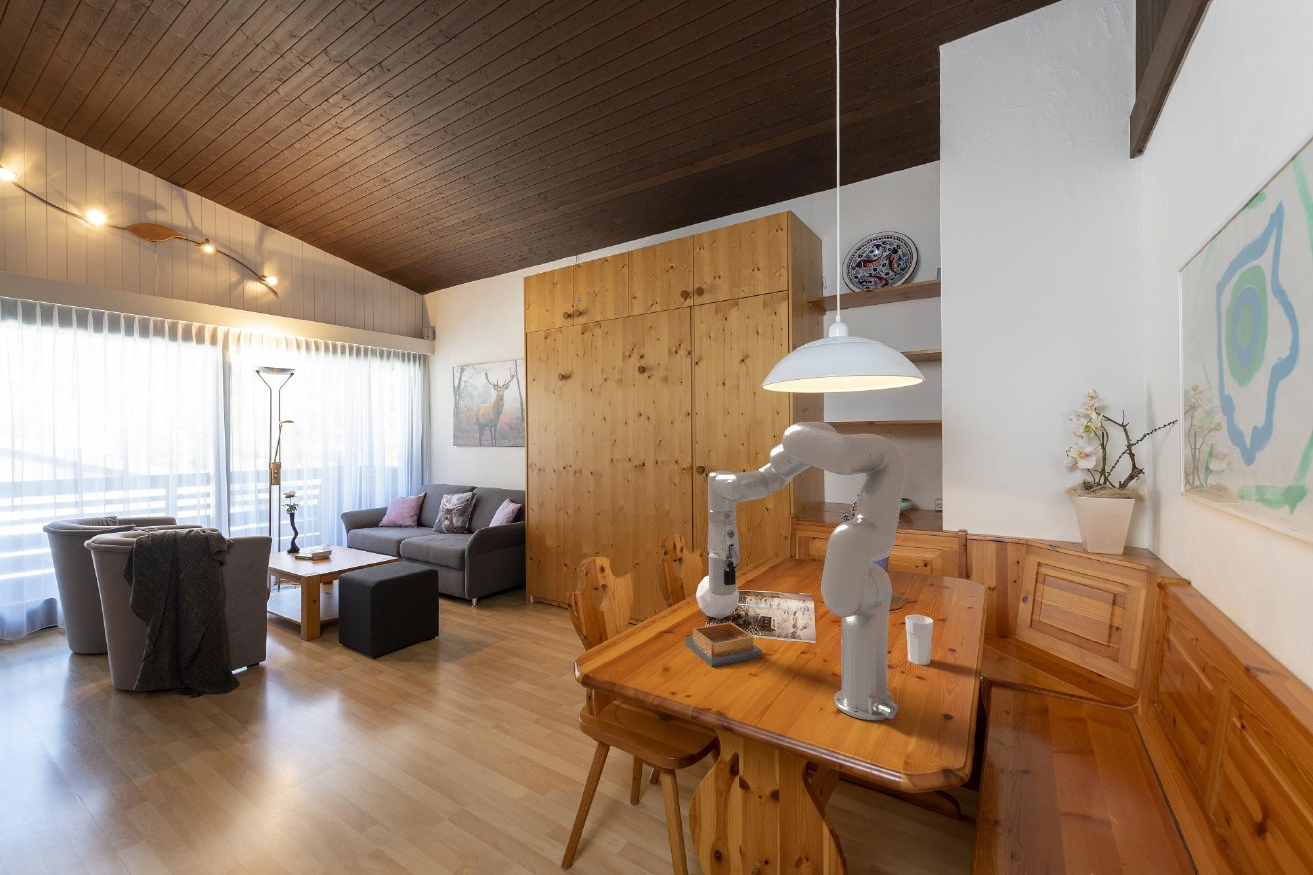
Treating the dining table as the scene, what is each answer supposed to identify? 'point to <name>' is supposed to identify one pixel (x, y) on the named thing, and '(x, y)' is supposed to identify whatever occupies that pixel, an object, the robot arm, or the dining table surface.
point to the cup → (919, 638)
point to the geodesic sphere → (715, 601)
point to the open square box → (723, 644)
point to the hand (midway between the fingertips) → (722, 580)
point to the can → (718, 575)
